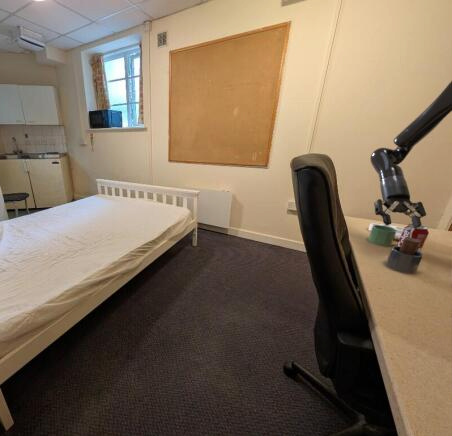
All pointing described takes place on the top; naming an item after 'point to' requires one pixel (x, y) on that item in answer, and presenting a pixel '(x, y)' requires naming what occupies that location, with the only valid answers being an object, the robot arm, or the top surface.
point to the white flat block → (399, 229)
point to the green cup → (382, 235)
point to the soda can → (414, 235)
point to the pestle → (409, 246)
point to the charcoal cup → (403, 261)
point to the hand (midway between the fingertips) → (402, 225)
